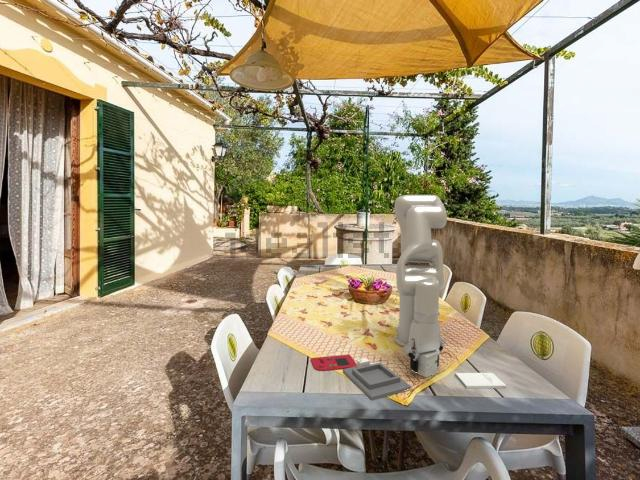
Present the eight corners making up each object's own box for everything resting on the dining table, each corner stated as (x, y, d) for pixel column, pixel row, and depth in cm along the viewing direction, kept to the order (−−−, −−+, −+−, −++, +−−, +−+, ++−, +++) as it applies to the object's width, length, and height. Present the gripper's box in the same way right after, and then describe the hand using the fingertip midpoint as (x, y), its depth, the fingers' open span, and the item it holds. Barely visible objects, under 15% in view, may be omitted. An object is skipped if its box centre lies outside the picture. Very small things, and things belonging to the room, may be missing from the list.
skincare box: (426, 378, 110) (426, 356, 110) (411, 371, 115) (411, 350, 114) (437, 373, 114) (438, 352, 113) (422, 366, 119) (423, 346, 118)
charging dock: (342, 372, 114) (342, 362, 114) (378, 364, 120) (378, 354, 120) (372, 400, 98) (372, 388, 98) (411, 389, 104) (411, 378, 103)
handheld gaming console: (310, 357, 124) (350, 353, 127) (310, 360, 124) (350, 357, 127) (315, 369, 115) (358, 365, 118) (315, 373, 115) (358, 369, 118)
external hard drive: (454, 377, 112) (491, 376, 113) (466, 390, 104) (505, 389, 105) (454, 372, 112) (491, 371, 113) (466, 385, 104) (506, 384, 105)
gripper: (438, 310, 120) (436, 358, 121) (397, 317, 112) (396, 368, 114) (454, 317, 113) (452, 367, 114) (412, 324, 106) (410, 378, 107)
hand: (424, 367), depth 114 cm, fingers open, 8 cm apart
